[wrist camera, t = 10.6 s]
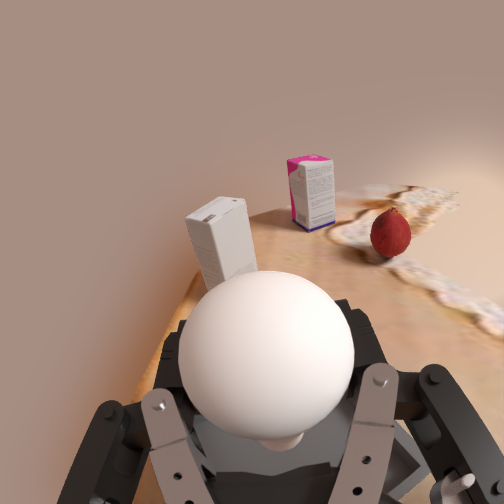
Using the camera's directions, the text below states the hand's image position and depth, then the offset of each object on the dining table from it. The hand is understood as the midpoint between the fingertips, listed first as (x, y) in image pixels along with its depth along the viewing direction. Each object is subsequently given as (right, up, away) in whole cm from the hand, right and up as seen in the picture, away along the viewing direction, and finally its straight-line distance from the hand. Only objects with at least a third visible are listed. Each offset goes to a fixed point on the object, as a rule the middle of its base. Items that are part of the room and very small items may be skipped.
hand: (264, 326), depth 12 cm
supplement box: (+10, +8, +38) cm, 41 cm away
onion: (+19, +2, +26) cm, 32 cm away
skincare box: (-3, -2, +26) cm, 26 cm away
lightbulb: (+1, -7, +2) cm, 8 cm away
